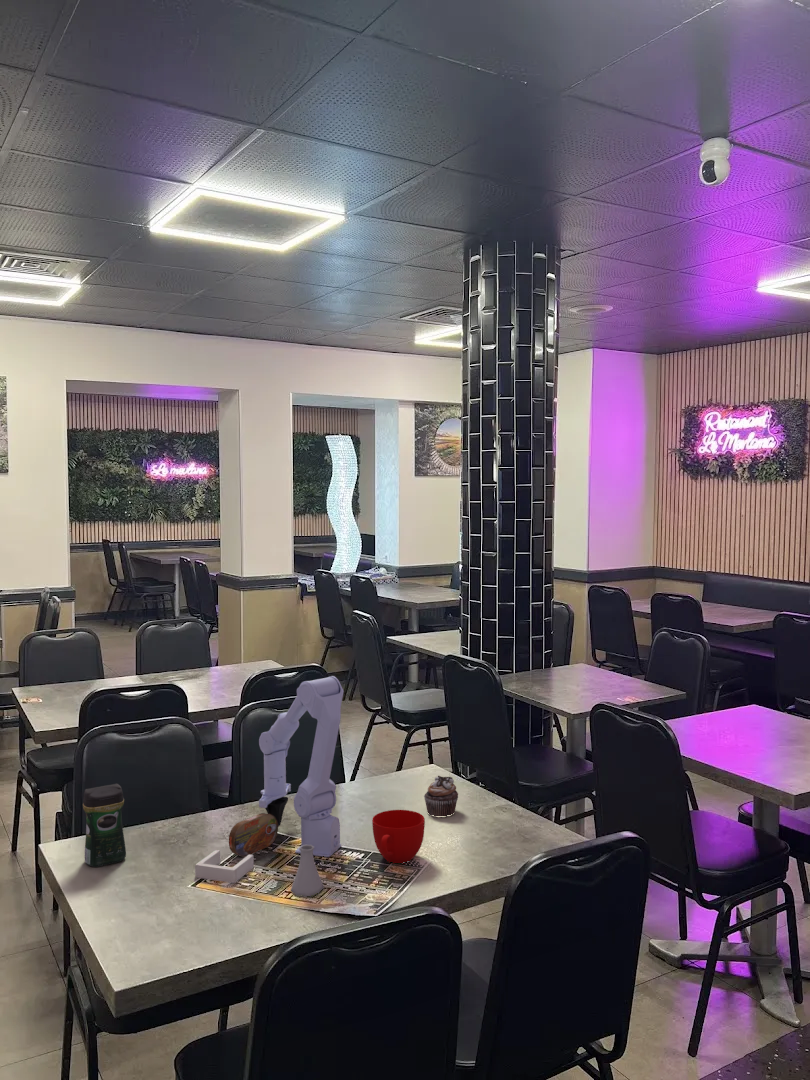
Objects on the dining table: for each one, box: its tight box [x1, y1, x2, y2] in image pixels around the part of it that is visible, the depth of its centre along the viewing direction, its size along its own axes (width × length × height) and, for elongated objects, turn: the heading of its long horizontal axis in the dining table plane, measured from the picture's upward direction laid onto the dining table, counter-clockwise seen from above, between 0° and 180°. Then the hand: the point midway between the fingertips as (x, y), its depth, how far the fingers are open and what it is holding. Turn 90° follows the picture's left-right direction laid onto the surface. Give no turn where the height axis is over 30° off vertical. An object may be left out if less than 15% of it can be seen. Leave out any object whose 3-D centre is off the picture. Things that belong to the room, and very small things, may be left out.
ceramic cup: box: [371, 809, 426, 864], centre depth 210 cm, size 13×17×10 cm
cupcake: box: [423, 775, 459, 816], centre depth 244 cm, size 10×10×10 cm
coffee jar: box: [82, 783, 127, 868], centre depth 213 cm, size 10×8×19 cm
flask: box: [290, 844, 325, 897], centre depth 195 cm, size 7×7×10 cm
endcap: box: [194, 849, 255, 884], centre depth 205 cm, size 10×9×3 cm
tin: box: [228, 812, 279, 858], centre depth 219 cm, size 15×3×8 cm, turn 143°
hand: (275, 825), depth 230 cm, fingers closed
